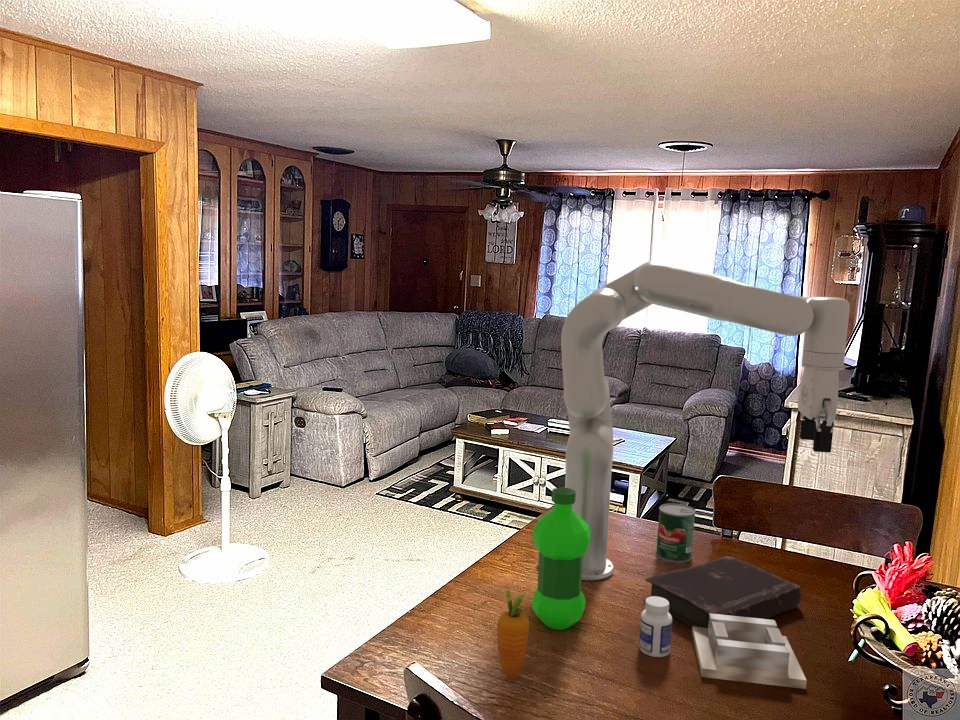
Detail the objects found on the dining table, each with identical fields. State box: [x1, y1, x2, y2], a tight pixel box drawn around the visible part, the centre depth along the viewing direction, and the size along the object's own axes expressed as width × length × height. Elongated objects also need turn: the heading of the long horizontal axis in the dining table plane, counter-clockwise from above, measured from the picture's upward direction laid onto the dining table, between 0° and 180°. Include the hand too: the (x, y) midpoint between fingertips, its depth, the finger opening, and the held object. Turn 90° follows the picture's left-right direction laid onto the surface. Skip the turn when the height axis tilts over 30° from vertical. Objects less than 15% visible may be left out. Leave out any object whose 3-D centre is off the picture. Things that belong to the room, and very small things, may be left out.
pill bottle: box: [638, 595, 673, 658], centre depth 129 cm, size 5×5×9 cm
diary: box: [643, 555, 802, 628], centre depth 146 cm, size 19×25×5 cm
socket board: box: [691, 613, 807, 690], centre depth 126 cm, size 16×14×5 cm
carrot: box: [497, 589, 530, 683], centre depth 117 cm, size 5×5×15 cm
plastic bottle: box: [531, 487, 591, 630], centre depth 136 cm, size 10×10×25 cm
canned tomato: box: [655, 503, 696, 564], centre depth 169 cm, size 8×8×11 cm
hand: (814, 445), depth 149 cm, fingers open, 9 cm apart
